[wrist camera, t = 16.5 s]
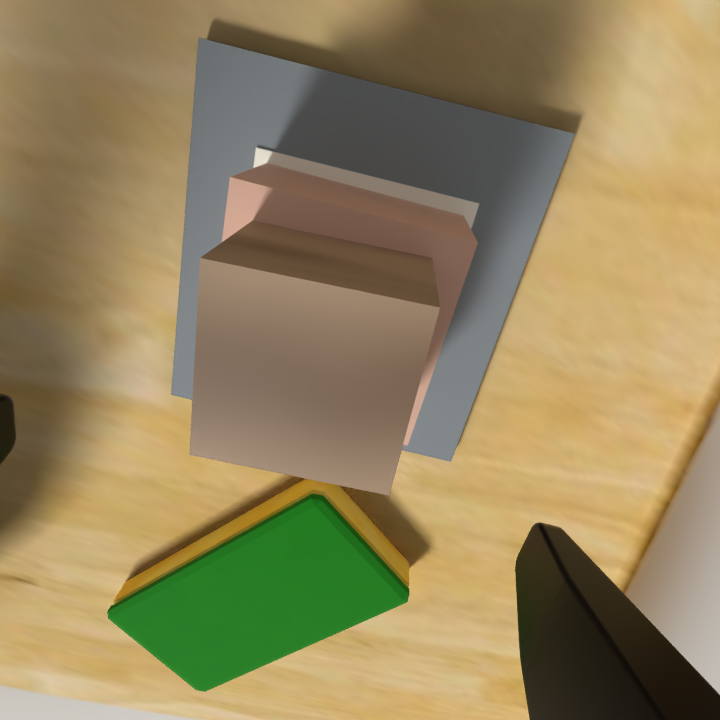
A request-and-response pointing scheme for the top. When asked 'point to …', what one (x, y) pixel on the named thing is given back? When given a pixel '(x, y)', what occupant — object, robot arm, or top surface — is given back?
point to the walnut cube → (309, 354)
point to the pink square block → (360, 232)
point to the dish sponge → (263, 586)
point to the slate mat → (378, 174)
